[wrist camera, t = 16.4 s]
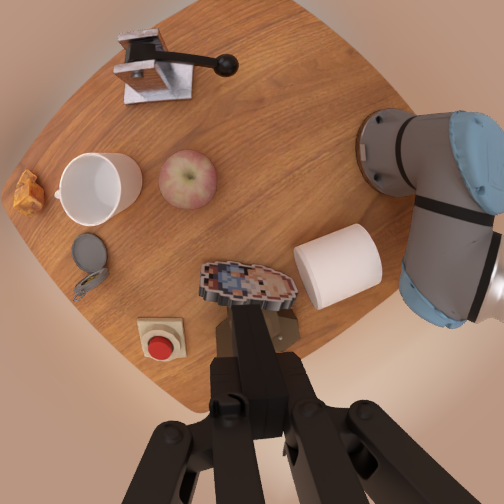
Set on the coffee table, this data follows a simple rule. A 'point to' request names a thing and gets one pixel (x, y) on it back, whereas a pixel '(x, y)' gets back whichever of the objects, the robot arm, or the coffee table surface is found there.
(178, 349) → the housing
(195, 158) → the apple
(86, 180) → the mug
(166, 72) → the bracket
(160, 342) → the button
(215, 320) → the coffee table surface
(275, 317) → the candle
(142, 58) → the lever
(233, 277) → the toy
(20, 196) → the pyrite
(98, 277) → the pocket watch
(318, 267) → the white cylinder
